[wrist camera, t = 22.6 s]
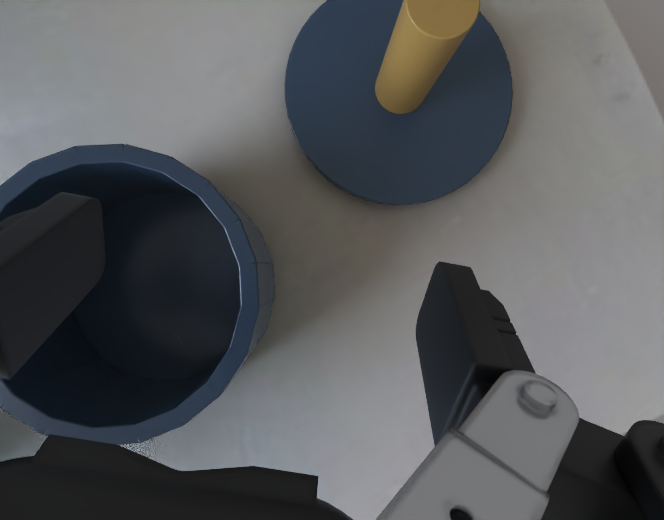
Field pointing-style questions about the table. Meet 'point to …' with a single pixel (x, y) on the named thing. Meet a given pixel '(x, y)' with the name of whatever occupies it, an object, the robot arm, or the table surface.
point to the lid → (398, 96)
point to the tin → (143, 299)
